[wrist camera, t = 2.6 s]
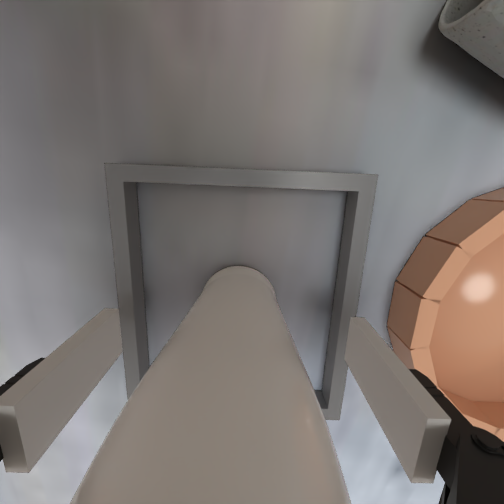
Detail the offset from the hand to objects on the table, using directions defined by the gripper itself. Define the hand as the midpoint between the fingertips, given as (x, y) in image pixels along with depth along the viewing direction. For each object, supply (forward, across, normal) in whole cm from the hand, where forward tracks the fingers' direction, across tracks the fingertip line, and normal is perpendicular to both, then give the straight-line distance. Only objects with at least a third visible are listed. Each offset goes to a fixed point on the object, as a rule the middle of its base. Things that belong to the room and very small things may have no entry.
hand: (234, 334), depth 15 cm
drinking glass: (+5, 0, 0) cm, 5 cm away
